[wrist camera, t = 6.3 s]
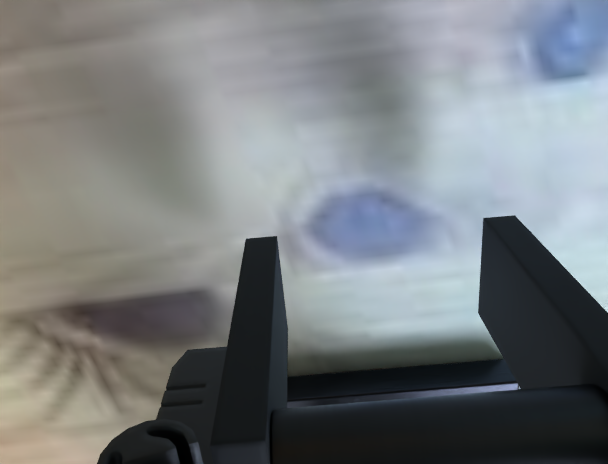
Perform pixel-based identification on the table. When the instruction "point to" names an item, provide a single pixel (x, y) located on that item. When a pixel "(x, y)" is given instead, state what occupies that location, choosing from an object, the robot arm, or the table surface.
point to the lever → (449, 429)
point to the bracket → (399, 383)
